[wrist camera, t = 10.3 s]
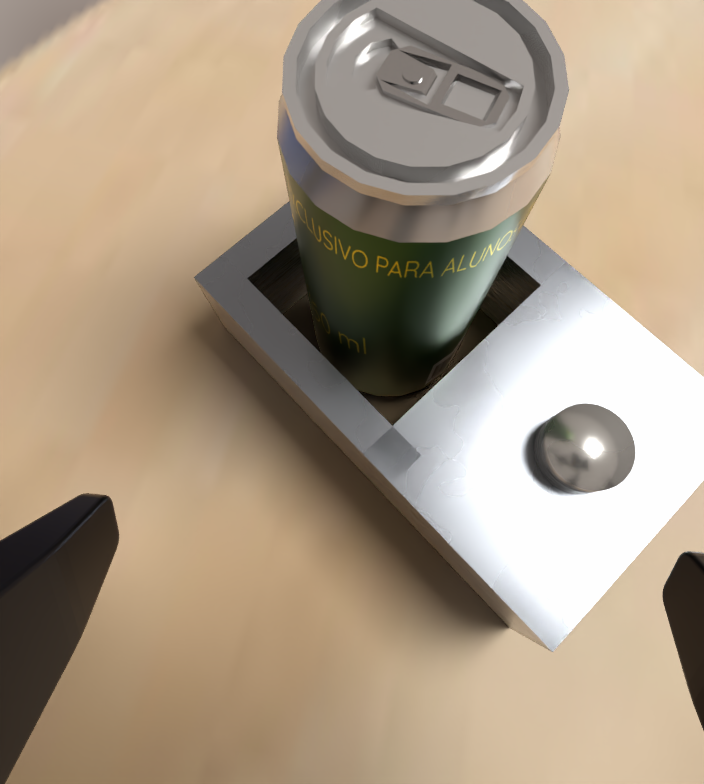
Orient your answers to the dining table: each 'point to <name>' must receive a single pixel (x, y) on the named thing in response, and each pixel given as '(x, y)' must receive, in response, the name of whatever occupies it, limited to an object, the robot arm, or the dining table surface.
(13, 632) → the robot arm
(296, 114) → the beer can
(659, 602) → the dining table surface
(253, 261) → the jig
